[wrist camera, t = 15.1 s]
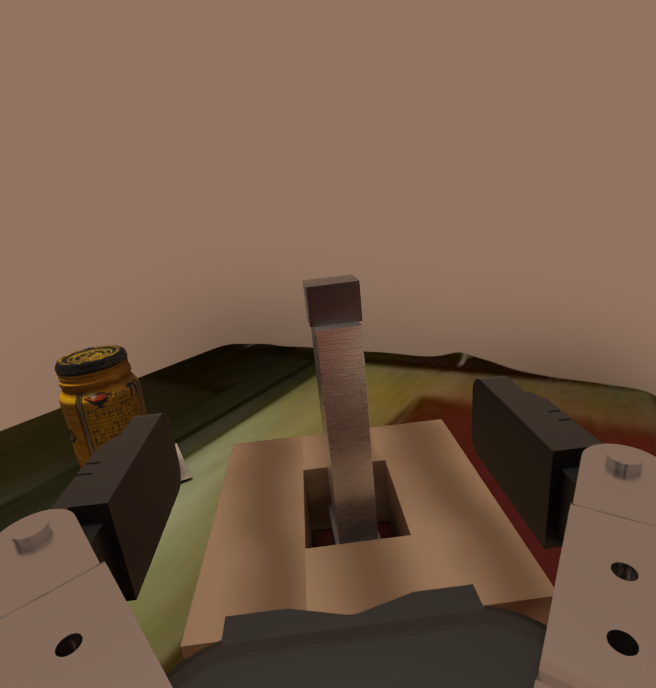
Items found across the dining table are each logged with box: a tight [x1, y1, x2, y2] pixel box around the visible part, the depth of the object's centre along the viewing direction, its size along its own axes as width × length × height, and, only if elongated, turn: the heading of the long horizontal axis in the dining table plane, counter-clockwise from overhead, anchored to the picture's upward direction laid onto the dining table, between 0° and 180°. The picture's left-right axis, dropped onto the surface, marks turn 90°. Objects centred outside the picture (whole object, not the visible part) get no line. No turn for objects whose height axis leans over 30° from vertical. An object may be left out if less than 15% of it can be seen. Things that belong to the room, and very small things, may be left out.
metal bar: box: [303, 275, 381, 545], centre depth 25 cm, size 3×4×18 cm, turn 8°
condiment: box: [55, 345, 192, 481], centre depth 38 cm, size 7×8×12 cm
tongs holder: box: [180, 419, 554, 659], centre depth 27 cm, size 16×16×5 cm
